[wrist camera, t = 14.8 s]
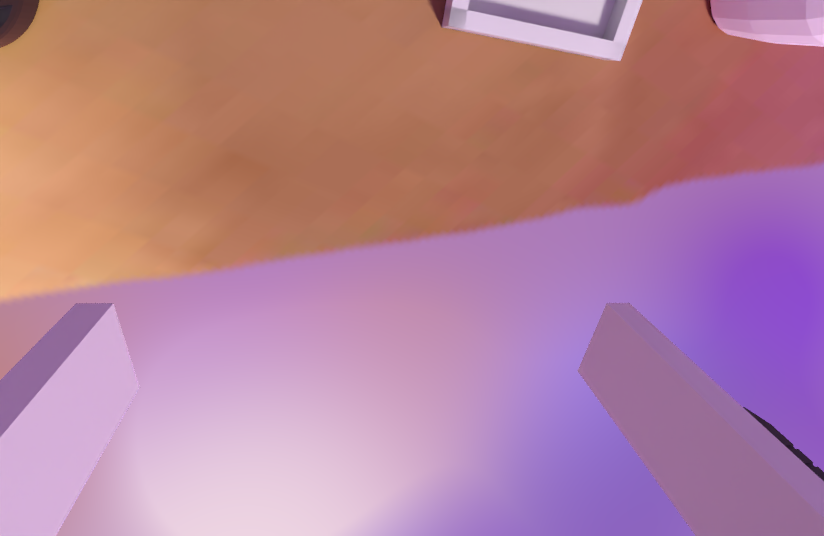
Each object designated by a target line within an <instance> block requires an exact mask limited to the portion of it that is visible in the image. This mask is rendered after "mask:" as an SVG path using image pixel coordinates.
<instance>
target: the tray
mask: <svg viewBox="0 0 824 536" xmlns="http://www.w3.org/2000/svg"><path fill="white" fill-rule="evenodd" d="M641 3H642V0H446V4H445V10H444V16H443V22H442V27H443V28H448V29H453V30H458V31H463V32H468V33H473V34H478V35H483V36H488V37H493V38H498V39H503V40H508V41H513V42H518V43H523V44H528V45H533V46H538V47H543V48H548V49H553V50H558V51H563V52H568V53H573V54H578V55H583V56H588V57H593V58H598V59H603V60H613V61H621V58H622V55H623V52H624V50H625V47H626V44H627V41H628V39H629V36H630V33H631V31H632V28H633V25H634V22H635V20H636V17H637V14H638V11H639V9H640V6H641Z"/></svg>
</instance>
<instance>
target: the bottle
mask: <svg viewBox="0 0 824 536" xmlns="http://www.w3.org/2000/svg"><path fill="white" fill-rule="evenodd" d="M710 4H711V12H712V16H713V19H714V20H715V22H716V24H717V26H718V28H719V29H721V30H722V31H723V32H725V33H726V34H728V35H733V36H738V37H743V38H748V39H754V40H759V41H764V42H770V43H778V44H792V45H808V46H824V0H710Z"/></svg>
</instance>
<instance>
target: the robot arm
mask: <svg viewBox="0 0 824 536" xmlns="http://www.w3.org/2000/svg"><path fill="white" fill-rule="evenodd" d="M38 3H39V0H0V48H1V47H3V46H6V45H8V44H10V43H12V42H13V41H15V40H16V39H18V38H19V37H20V36H21V35H22V34H23V33H24V32H25V31H26V30H27V29H28V27H29V26H30V24H31V22H32V21H33V19H34V16H35V14H36V11H37V8H38ZM578 372H579V373H580V375H581V376H582V377H583V379H584V380H585V382H586V383H587V385H588V386H589V387H590V389H591V390H592V391H593V393H594V394H595V396H596V397H597V398H598V400H599V401H600V403H601V404H602V405H603V407H604V408H605V409H606V411H607V412H608V414H609V415H610V417H611V418H612V419H613V421H614V422H615V424H616V425H617V426H618V428H619V429H620V431H621V432H622V433H623V435H624V436H625V438H626V439H627V440H628V442H629V443H630V445H631V446H632V447H633V449H634V450H635V452H636V453H637V454H638V456H639V457H640V459H641V460H642V461H643V463H644V464H645V466H646V467H647V468H648V470H649V471H650V473H651V474H652V475H653V477H654V478H655V479H656V481H657V482H658V484H659V485H660V487H661V488H662V489H663V491H664V492H665V494H666V495H667V496H668V498H669V499H670V500H671V502H672V503H673V505H674V506H675V507H676V509H677V510H678V512H679V513H680V515H681V516H682V517H683V519H684V520H685V521H686V523H687V524H688V526H689V527H690V528H691V530H692V531H693V533H694V534H695V535H696V536H824V472H823V471H822V470H821V469H820V468H819V467H814V466H813V462H812V461H811V460H810V459H809V458H807V457H806V456H805V455H804V454H803V453H802V452H801V451H800V450H799V449H794V447H793V444H792V443H791V442H790V441H789V440H787V439H786V438H785V437H784V436H783V435H782V434H781V433H780V432H778V431H777V430H776V429H775V428H774V427H773V426H772V425H771V424H769V423H768V422H766V421H765V420H763V419H762V418H760V417H759V416H757V415H755V414H754V413H752V412H751V411H749V410H748V409H746V408H745V407H742V406H741V405H740V404H739V403H738V402H737V401H735V400H734V399H733V398H732V397H731V396H730V395H729V394H728V393H727V392H726V391H725V390H723V389H722V388H721V387H720V386H719V385H718V384H717V383H716V382H715V381H714V380H713V379H711V378H710V377H709V376H708V375H707V374H706V373H705V372H704V371H703V370H702V369H701V368H699V367H698V366H697V365H696V364H695V363H694V362H693V361H692V360H691V359H690V358H689V357H687V356H686V355H685V354H684V353H683V352H682V351H681V350H680V349H679V348H678V347H677V346H675V345H674V344H673V343H672V342H671V341H670V340H669V339H668V338H667V337H666V336H664V335H663V334H662V333H661V332H660V331H659V330H658V329H657V328H656V327H655V326H654V325H652V324H651V323H650V322H649V321H648V320H647V319H646V318H645V317H644V316H643V315H642V314H640V313H639V312H638V311H637V310H636V309H635V308H634V307H633V306H632V305H631V304H630V303H607V304H606V306H605V309H604V311H603V314H602V316H601V318H600V320H599V323H598V325H597V327H596V330H595V332H594V334H593V337H592V339H591V342H590V344H589V346H588V348H587V350H586V353H585V355H584V357H583V360H582V362H581V364H580V367H579V369H578ZM139 388H140V386H139V383H138V380H137V377H136V374H135V370H134V367H133V364H132V361H131V358H130V355H129V351H128V348H127V345H126V342H125V339H124V336H123V332H122V330H121V327H120V323H119V320H118V317H117V314H116V310H115V307H114V304H113V303H107V304H106V303H99V304H98V303H84V304H83V303H79V304H78V303H76V304H75V305H74V306H73V307H72V308H71V309H70V310H69V311H68V312H67V313H66V314H65V315H64V316H63V317H62V318H61V319H60V320H59V321H58V322H57V323H56V324H55V325H54V326H53V327H52V328H51V329H50V330H49V332H47V333H46V334H45V336H43V338H42V339H41V340H40V341H39V342H38V343H37V344H36V345H35V346H34V347H33V348H32V349H31V350H30V351H29V352H28V353H27V354H26V355H25V356H24V357H23V358H22V359H21V360H20V361H19V362H18V363H17V364H16V365H15V366H14V367H13V368H12V369H11V370H10V371H9V372H8V373H7V374H6V375H5V376H4V377H3V378H2V379H1V380H0V536H56V535H57V533H58V531H59V529H60V527H61V526H62V524H63V522H64V521H65V519H66V517H67V515H68V514H69V512H70V510H71V508H72V507H73V505H74V503H75V501H76V499H77V498H78V496H79V494H80V492H81V491H82V489H83V487H84V485H85V483H86V482H87V480H88V478H89V476H90V475H91V473H92V471H93V469H94V468H95V466H96V464H97V462H98V461H99V459H100V457H101V455H102V453H103V452H104V450H105V448H106V446H107V445H108V443H109V441H110V439H111V438H112V436H113V434H114V432H115V431H116V429H117V427H118V425H119V423H120V421H121V420H122V418H123V416H124V415H125V413H126V411H127V409H128V407H129V406H130V404H131V402H132V400H133V399H134V397H135V395H136V393H137V392H138V390H139Z"/></svg>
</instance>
